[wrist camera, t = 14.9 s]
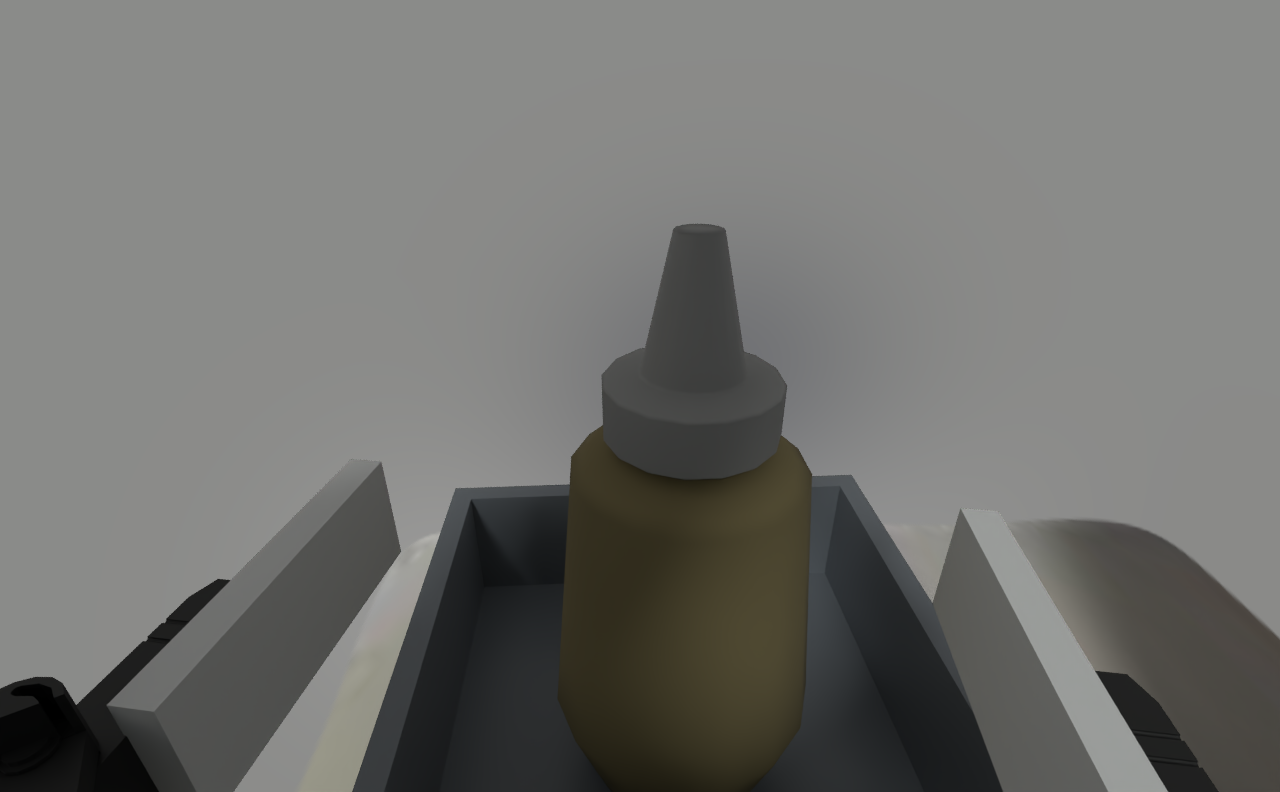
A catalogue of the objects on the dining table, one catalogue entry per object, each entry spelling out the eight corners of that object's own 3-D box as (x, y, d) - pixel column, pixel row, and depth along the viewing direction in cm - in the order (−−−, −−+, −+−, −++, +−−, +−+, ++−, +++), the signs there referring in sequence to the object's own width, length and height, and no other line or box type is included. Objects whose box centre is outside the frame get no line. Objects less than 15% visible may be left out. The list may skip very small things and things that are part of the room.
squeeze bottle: (804, 888, 18) (940, 292, 10) (534, 848, 19) (456, 273, 11) (784, 659, 25) (854, 201, 17) (588, 638, 26) (565, 194, 18)
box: (472, 591, 30) (455, 488, 27) (832, 575, 31) (851, 474, 28) (337, 1151, 14) (267, 1041, 12) (1070, 1084, 15) (1164, 971, 13)
